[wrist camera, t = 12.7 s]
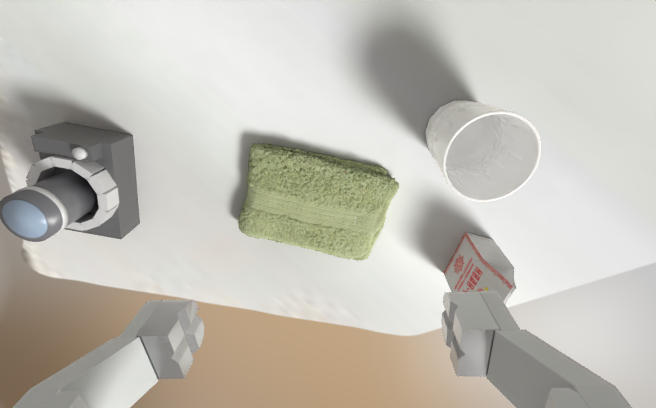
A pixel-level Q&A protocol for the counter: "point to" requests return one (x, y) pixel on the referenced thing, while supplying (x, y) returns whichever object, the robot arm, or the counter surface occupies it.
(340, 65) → the counter surface
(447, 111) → the white cup
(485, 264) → the white food carton
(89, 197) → the lens
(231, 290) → the counter surface
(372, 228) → the washcloth
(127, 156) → the camera body
